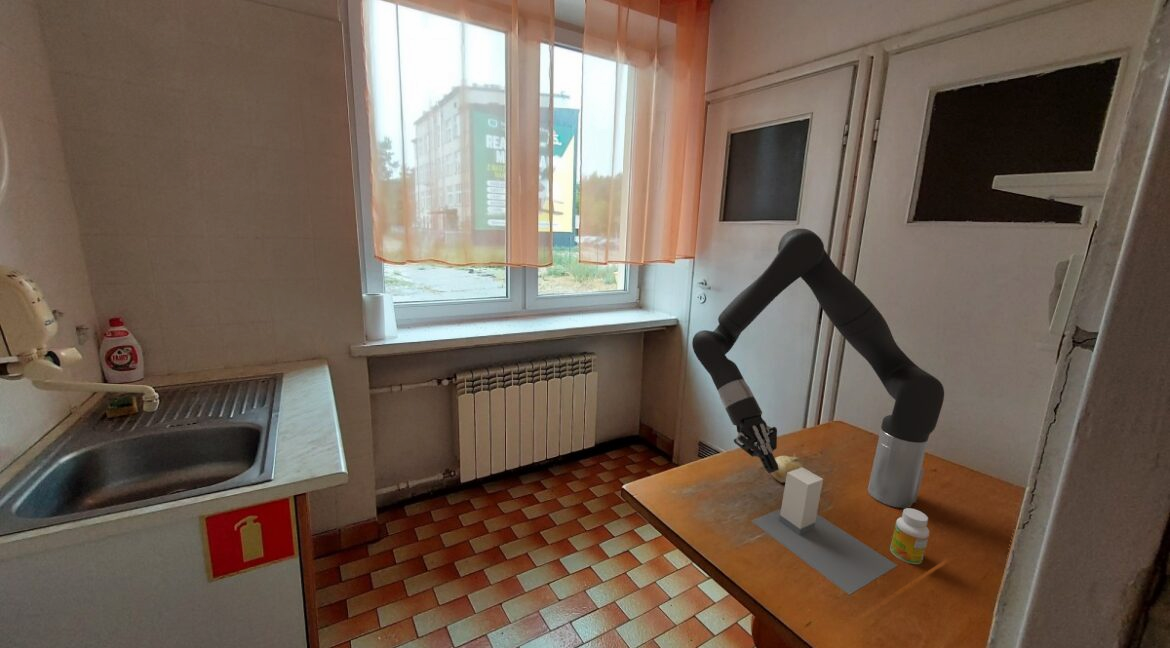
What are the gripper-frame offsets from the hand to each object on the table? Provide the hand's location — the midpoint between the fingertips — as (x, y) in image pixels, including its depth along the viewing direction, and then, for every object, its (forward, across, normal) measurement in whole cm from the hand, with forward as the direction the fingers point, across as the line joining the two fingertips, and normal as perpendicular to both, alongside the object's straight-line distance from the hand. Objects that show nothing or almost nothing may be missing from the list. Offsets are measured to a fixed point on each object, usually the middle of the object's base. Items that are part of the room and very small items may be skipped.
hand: (773, 471), depth 100 cm
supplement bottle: (+23, +13, -10) cm, 28 cm away
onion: (+3, +14, +11) cm, 18 cm away
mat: (+16, 0, -3) cm, 16 cm away
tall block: (+12, 0, +1) cm, 12 cm away
